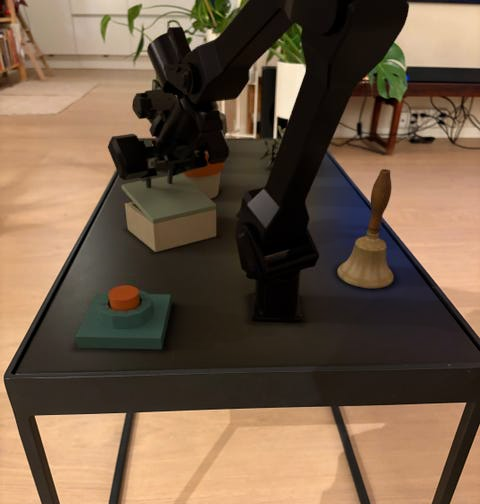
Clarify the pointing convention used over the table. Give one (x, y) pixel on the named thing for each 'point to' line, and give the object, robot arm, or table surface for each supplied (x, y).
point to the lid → (168, 196)
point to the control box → (125, 323)
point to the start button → (124, 298)
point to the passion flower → (273, 148)
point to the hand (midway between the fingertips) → (156, 176)
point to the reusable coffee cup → (208, 172)
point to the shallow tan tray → (170, 228)
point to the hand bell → (371, 244)
